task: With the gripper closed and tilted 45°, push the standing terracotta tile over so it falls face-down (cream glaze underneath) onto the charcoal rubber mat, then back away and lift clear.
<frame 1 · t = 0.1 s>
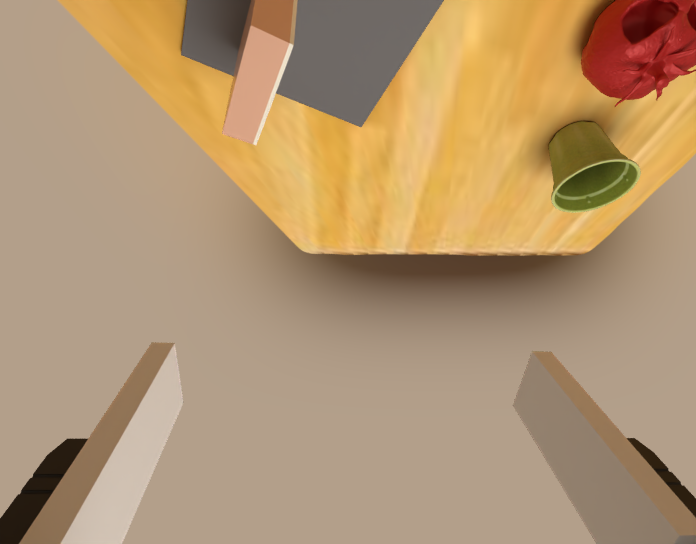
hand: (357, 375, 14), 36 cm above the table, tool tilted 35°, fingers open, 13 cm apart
pomegranate: (628, 22, 38), on the table
plant pot: (572, 137, 51), on the table
mat: (305, 25, 37), on the table
tile: (265, 9, 35), point 1 cm above the table, touching mat
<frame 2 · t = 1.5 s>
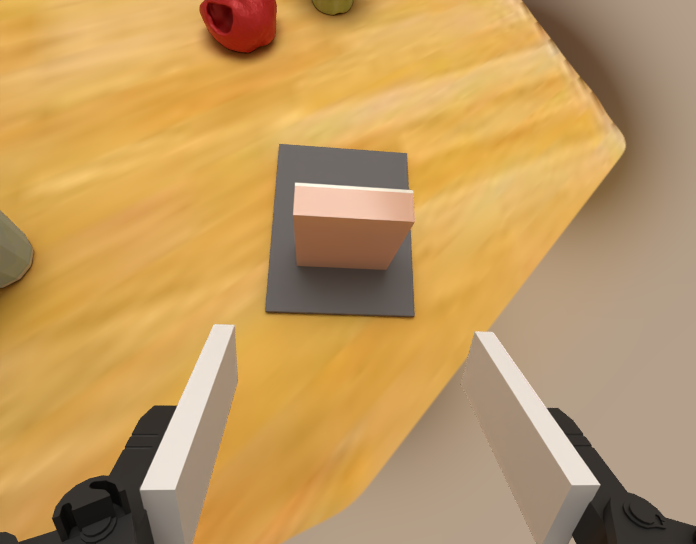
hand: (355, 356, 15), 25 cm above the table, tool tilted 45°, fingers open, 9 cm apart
pomegranate: (243, 35, 53), on the table
disposable coffee cup: (4, 258, 40), on the table
plant pot: (331, 2, 57), on the table
mat: (342, 226, 45), on the table
tile: (342, 256, 43), point 1 cm above the table, touching mat
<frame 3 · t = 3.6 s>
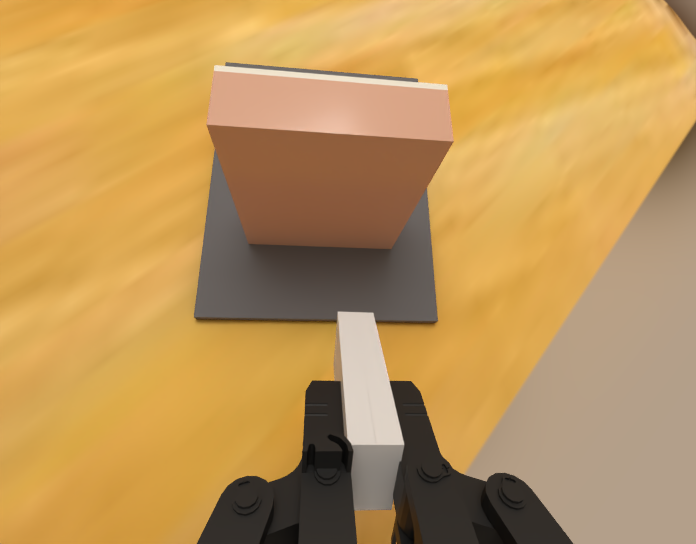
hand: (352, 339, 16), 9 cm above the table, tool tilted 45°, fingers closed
mat: (322, 184, 29), on the table
tile: (321, 229, 27), point 1 cm above the table, touching mat
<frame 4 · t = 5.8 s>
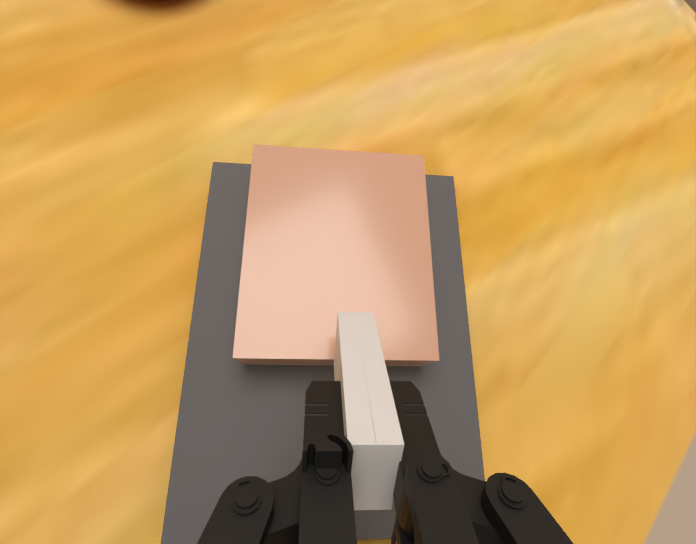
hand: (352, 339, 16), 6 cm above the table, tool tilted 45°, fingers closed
mat: (334, 327, 22), on the table
tile: (336, 362, 20), point 2 cm above the table, tilted 90°, touching mat
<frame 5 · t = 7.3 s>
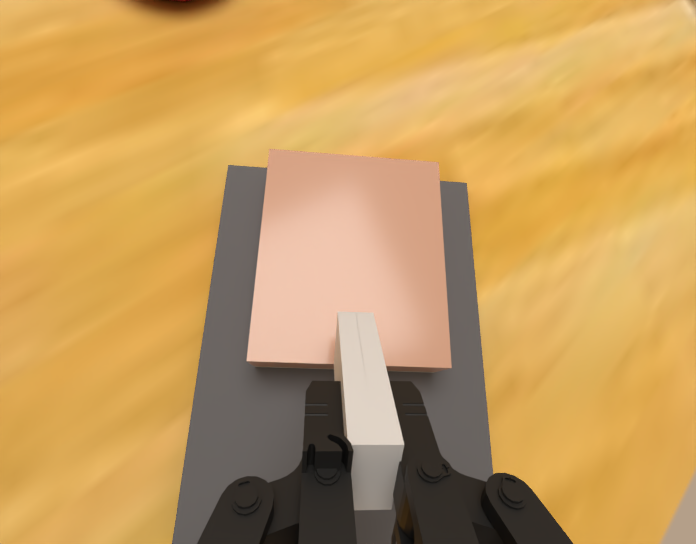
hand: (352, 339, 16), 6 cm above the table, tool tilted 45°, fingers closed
mat: (345, 332, 23), on the table
tile: (348, 367, 20), point 2 cm above the table, tilted 90°, touching mat
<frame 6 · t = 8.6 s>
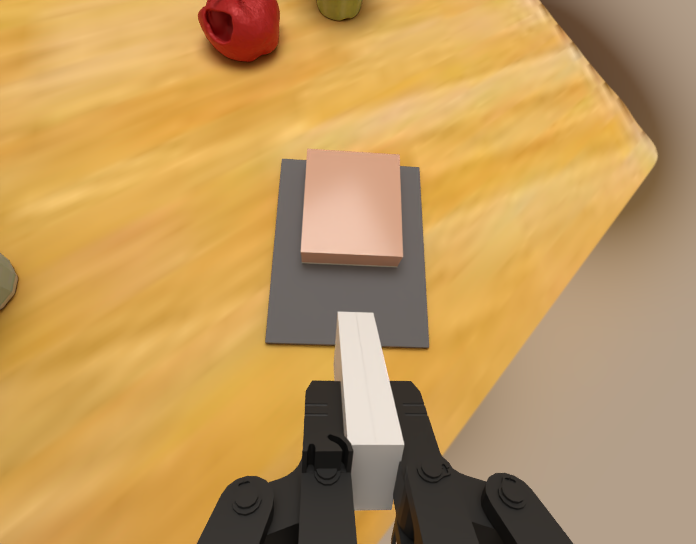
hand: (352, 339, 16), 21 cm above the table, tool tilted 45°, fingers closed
pomegranate: (245, 43, 50), on the table
plant pot: (338, 7, 54), on the table
mat: (349, 248, 41), on the table
tile: (351, 259, 38), point 2 cm above the table, tilted 90°, touching mat
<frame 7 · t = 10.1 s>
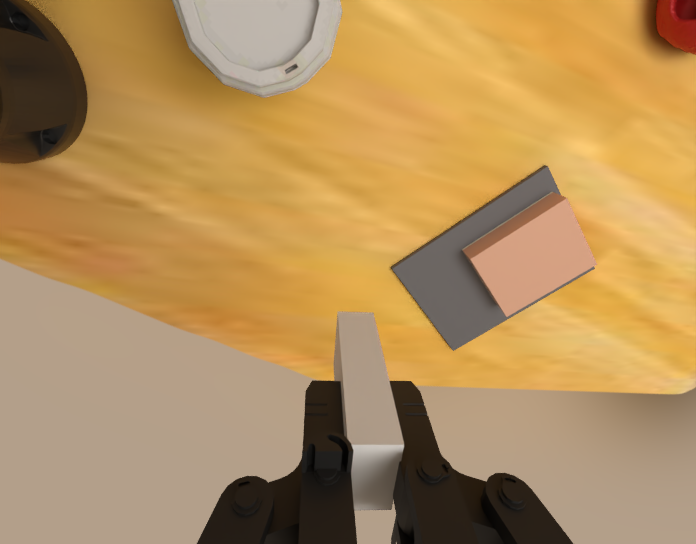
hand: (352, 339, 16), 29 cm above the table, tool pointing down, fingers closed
disposable coffee cup: (278, 31, 36), on the table
mat: (493, 266, 49), on the table
tile: (484, 284, 47), point 2 cm above the table, tilted 90°, touching mat
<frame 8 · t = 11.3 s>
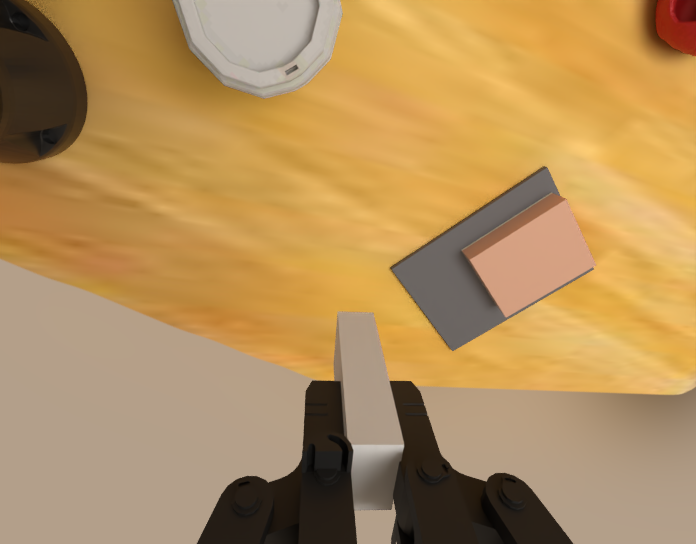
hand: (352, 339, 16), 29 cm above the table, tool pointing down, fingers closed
pomegranate: (689, 1, 37), on the table
disposable coffee cup: (278, 32, 36), on the table
mat: (492, 267, 49), on the table
tile: (484, 284, 47), point 2 cm above the table, tilted 90°, touching mat
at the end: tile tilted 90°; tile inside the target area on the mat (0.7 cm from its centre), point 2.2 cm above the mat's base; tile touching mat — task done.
